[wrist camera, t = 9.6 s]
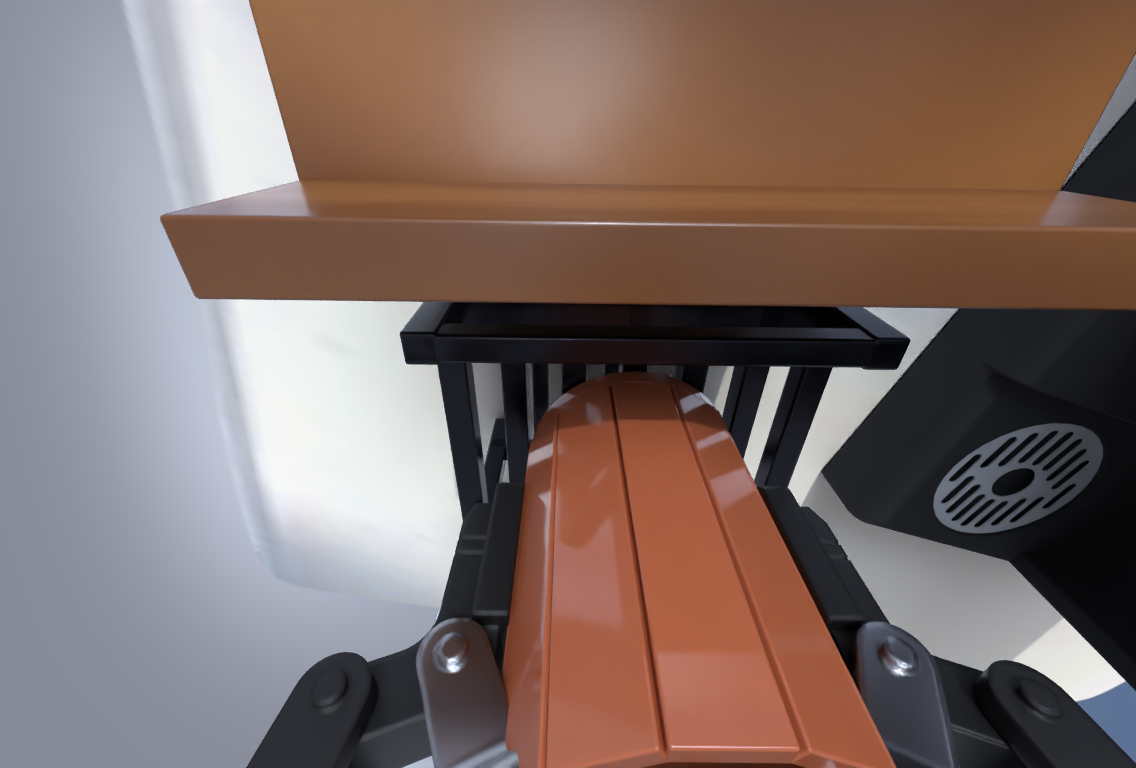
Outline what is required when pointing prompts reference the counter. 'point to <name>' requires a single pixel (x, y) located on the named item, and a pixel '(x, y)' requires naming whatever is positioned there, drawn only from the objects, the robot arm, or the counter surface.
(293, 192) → the wooden open box
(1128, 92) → the counter surface
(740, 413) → the rack
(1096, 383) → the coffee maker
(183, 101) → the counter surface
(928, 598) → the counter surface
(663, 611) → the cup
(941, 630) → the counter surface
